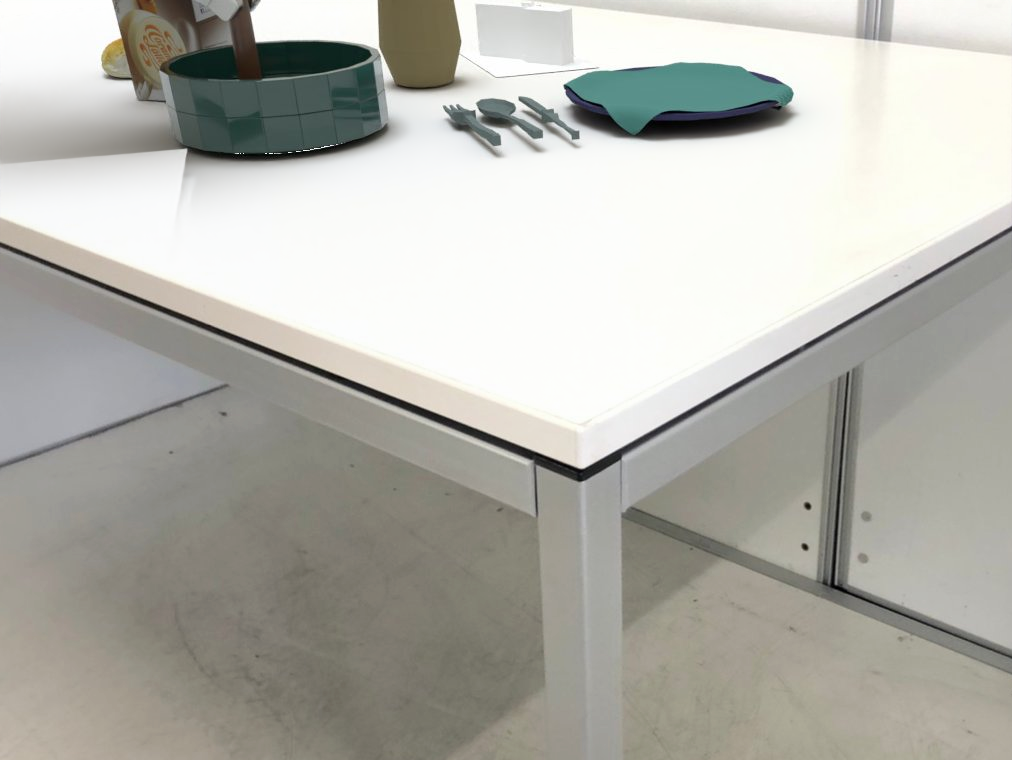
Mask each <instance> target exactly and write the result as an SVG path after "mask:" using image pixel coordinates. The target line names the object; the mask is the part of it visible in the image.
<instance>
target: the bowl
mask: <svg viewBox="0 0 1012 760" xmlns="http://www.w3.org/2000/svg"><path fill="white" fill-rule="evenodd" d="M256 47H257V52H258V58H259V63H260V69H261V75H262V79H258V80H239V76H238V70H237V65H236V60H235V55H234V49H233V45H225V46H219V47H213V48H208V49H202V50H197V51H193V52H189V53H186V54H182V55H179V56H175V57H173V58H171V59H169V60H167V61H165V62H163V63H161V66H160V69H159V73H160V77H161V81H162V86H163V90H164V95H165V99H166V101H165V103H166V108H167V112H168V117H169V121H170V125H171V129H172V134H173V138H174V139H175V140H176V141H177V142H179V143H180V144H182V145H183V146H185V147H190V148H193V149H197V150H202V151H206V152H216V153H221V152H224V153H223V154H228V153H239V154H240V153H241V154H243V153H244V154H265V153H267V154H269V153H273V154H274V153H288V152H296V151H303V150H310V149H314V148H321V147H324V146H330V145H336V144H341V143H344V142H348V141H350V142H352V140H353V141H356V140H359V139H363V138H366V137H367V136H369V135H371V134H374V133H376V132H379V131H380V130H382V129H383V128H384V127H385V126H386V125H387V123H388V122H389V119H390V118H389V111H388V105H387V96H386V95H387V94H386V89H385V88H386V87H385V79H384V72H383V65H382V64H383V63H382V54H380V52H379V50H378V49H377V48H375V47H372V46H369V45H366V44H364V43H356V42H350V41H343V40H328V39H326V40H325V39H282V40H265V41H264V40H263V41H256ZM355 139H356V140H355ZM348 143H349V142H348ZM344 144H345V143H344ZM341 145H342V144H341Z"/></svg>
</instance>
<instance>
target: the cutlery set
mask: <svg viewBox="0 0 1012 760" xmlns="http://www.w3.org/2000/svg"><path fill="white" fill-rule="evenodd" d="M563 90H565V92H564V93H565V96H566V98H568V99H569V101H570V102H571V103H572V104H574V105H576V106H577V107H580V108H582V109H585V110H588V111H590V112H593V113H595V114H599V115H600V114H601V115H605V116H610V117H611V118H612V120H613V121H614V122H615V123H616V124H617V125H618V126H619V127H620V128H622V130H625V131H626V132H628V133H629V134H631V135H632V136H636V135H637V134H638V133H640V131H641V130H643V128H644V127H645V126H646V125H647V124H648V123H649V122H651V121H698V120H711V119H724V118H728V117H736V116H742V115H747V114H753V113H756V112H760V111H763V110H766V109H768V108H771V109H774V110H775V111H781V110H782V109H783V108H784V107H785V106H787V105H788V104H790V103H791V102H792V101H793V98H794V95H795V93H794V90H793V88H792V87H791V86H789V85H788V84H786V83H784V82H782V81H781V80H779V79H777V78H776V77H773V76H769V75H766V74H763V73H759V72H756V71H750V70H749V71H748V70H747V69H746V68H745V67H743V66H741V65H740V66H739V65H731V64H723V63H714V62H713V63H712V62H683V61H680V62H674V63H670V64H665V65H656V66H655V65H654V66H640V67H639V66H638V67H629V68H622V69H615V70H608V69H607V70H594V71H593V70H592V71H590V72H586V73H585V74H581V75H579V76H578V77H575V78H573V79H571V80H569V81H567V82H565V83H564V84H563ZM517 101H519V102H520V103H521V104H523V105H524V106H526V107H527V108H529V109H531V110H532V111H533V112H534V113H536V114H537V115H539V116H540V119H541V124H548V123H554V124H555V125H557V126H558V127H560V128H562V129H563V130H565V131H566V132H567V133H568V134H569V135H570V136H571V141H575V140H576V141H577V140H580V137H581V136H580V130H576V129H574V128H572V127H570V126H568V125H567V124H566V123H565V121H563V120H562V119H560V117H559V114H558V112H555V108H548V109H547V108H546V107H545V106H544V105H542V104H541V103H540V102H537V101H536V100H535V99H533V98H530V97H528V96H522V95H521V96H518V99H517ZM779 103H780V105H779ZM475 104H476V105H475V106H476V107H477V109H478V111H479V113H481V114H482V115H483V116H486V117H489V118H492V119H505V120H507V121H509V122H510V123H513V124H514V125H516V126H518V127H519V128H520V129H521V130H522V131H524V132H525V133H526V135H528V136H529V137H530V138H532V140H538V139H539V140H540V139H543V138H544V130H543V129H542V128H540V127H537V126H536V125H534V124H532V123H530V122H528V121H527V120H525V119H523V118H519V117H517V116H515V115H514V113H516V110H517V107H516V103H515V102H511V101H509V100H507V99H502V98H501V99H500V98H495V97H490V98H489V97H488V98H481V99H479V100H478V101H476V102H475ZM455 106H456V107H455ZM455 106H454V105H453V104H449V107H447V106H446V105H442V108H443V110H444V112H445V113H446V114H447V115H448V117H450V120H452V121H453V122H454V123H456V124H459V125H461V126H469V127H470V128H471V129H472V131H473V132H475V133H476V134H477V135H478V136H479V137H481V138H482V139H485V140H486V141H488V142H489V144H490V145H491V146H492V147H499V146H502V137H501V134H500V133H498V132H496V131H495V130H493V129H492V128H489V127H487V126H485V125H483V123H482V124H481V123H480V122H479V120H478V119H477V112H476V111H477V110H476V109H473V110H470V109H467V108H464V107H463V106H461V104H458V103H456V104H455Z"/></svg>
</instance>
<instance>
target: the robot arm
mask: <svg viewBox="0 0 1012 760" xmlns="http://www.w3.org/2000/svg"><path fill="white" fill-rule="evenodd" d="M196 1H197V2H199V3H201V4H203V5H205V6H208V7H209V8H210V9H211V10H212V11H213V12H214V13H215V14H216V15H217V16H218V17H219V18H221V19H222V20H224V21H228V20H231V19H233V18H236V17H237V16H238V14H239V12H240V11H241V10H242V9H243V6H244V4H243V1H242V0H196ZM261 1H262V0H248V2H249V8H250V13H252V12H254V11H255V9H257V7H258V5H259V4H260V3H261Z"/></svg>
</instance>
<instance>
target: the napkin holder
mask: <svg viewBox="0 0 1012 760" xmlns="http://www.w3.org/2000/svg"><path fill="white" fill-rule="evenodd" d="M474 6H475V16H476V28H477V29H476V30H477V42H478V50H471V51H460V52H459V55H461V56H462V57H464V58H466V59H468V60H469V61H470V62H472V63H474V64H475V65H477V66H478V67H480V68H481V69H483V70H484V71H486V72H487V73H489V74H490V75H492V76H494V77H495V78H504V77H514V76H515V77H516V76H525V75H535V74H546V73H555V72H557V73H558V72H568V71H575V70H576V71H577V70H586V69H597V68H599V66H597V65H595V64H593V63H591V62H588V61H587V60H586V59H583V58H580V57H579V56H577V55H575V53H574V29H573V27H574V26H573V25H574V24H573V8H571V7H557V6H545V5H544V6H542V4H541V3H535V2H534V1H522V2H514V1H500V0H485V1H480V2H476V3H475V5H474Z"/></svg>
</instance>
